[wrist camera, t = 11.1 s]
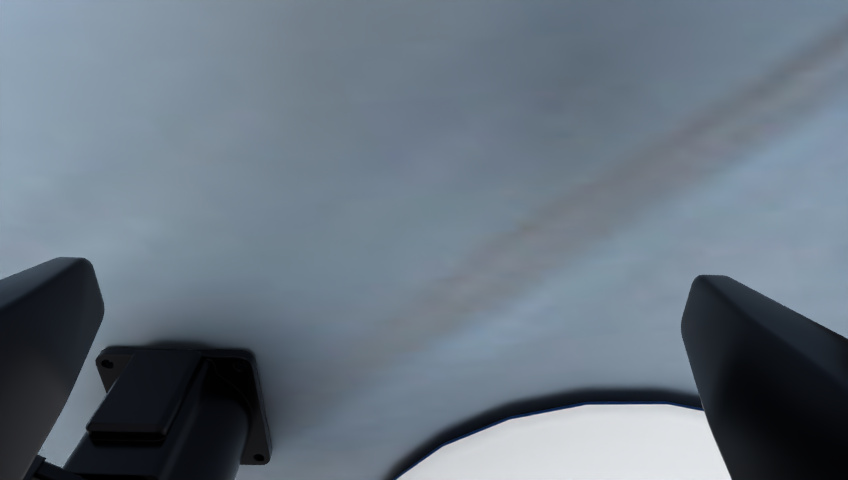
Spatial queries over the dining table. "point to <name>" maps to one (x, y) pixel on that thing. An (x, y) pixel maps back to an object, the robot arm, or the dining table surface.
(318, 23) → the dining table surface
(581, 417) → the plate
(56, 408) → the robot arm
